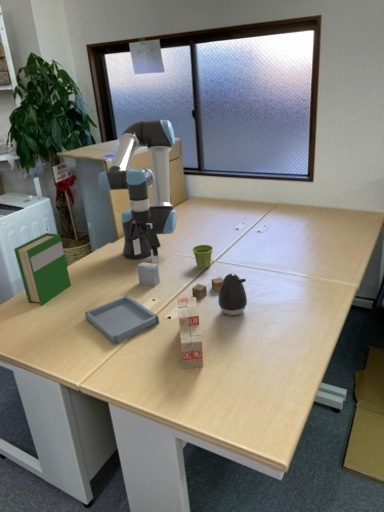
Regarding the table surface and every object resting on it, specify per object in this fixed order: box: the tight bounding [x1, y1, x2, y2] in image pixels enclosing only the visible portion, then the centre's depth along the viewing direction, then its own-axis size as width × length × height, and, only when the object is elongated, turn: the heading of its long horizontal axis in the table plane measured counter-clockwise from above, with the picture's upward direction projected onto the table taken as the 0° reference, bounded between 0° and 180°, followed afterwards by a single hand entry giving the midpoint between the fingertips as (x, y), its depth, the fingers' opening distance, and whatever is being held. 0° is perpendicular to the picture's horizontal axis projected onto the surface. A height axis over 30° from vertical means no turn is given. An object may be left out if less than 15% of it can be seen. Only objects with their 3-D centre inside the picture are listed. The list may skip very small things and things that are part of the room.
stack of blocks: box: [177, 296, 204, 369], centre depth 127 cm, size 21×6×12 cm, turn 4°
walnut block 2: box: [210, 276, 224, 292], centre depth 163 cm, size 4×4×4 cm
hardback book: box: [13, 232, 72, 307], centre depth 166 cm, size 18×7×24 cm, turn 156°
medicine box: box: [136, 261, 161, 287], centre depth 171 cm, size 8×4×9 cm, turn 65°
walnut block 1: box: [191, 283, 208, 300], centre depth 159 cm, size 4×4×4 cm
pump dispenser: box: [218, 273, 248, 316], centre depth 144 cm, size 10×10×15 cm
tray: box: [84, 294, 160, 345], centre depth 146 cm, size 22×18×3 cm
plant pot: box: [191, 244, 214, 269], centre depth 183 cm, size 9×9×9 cm
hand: (146, 258), depth 168 cm, fingers open, 13 cm apart
